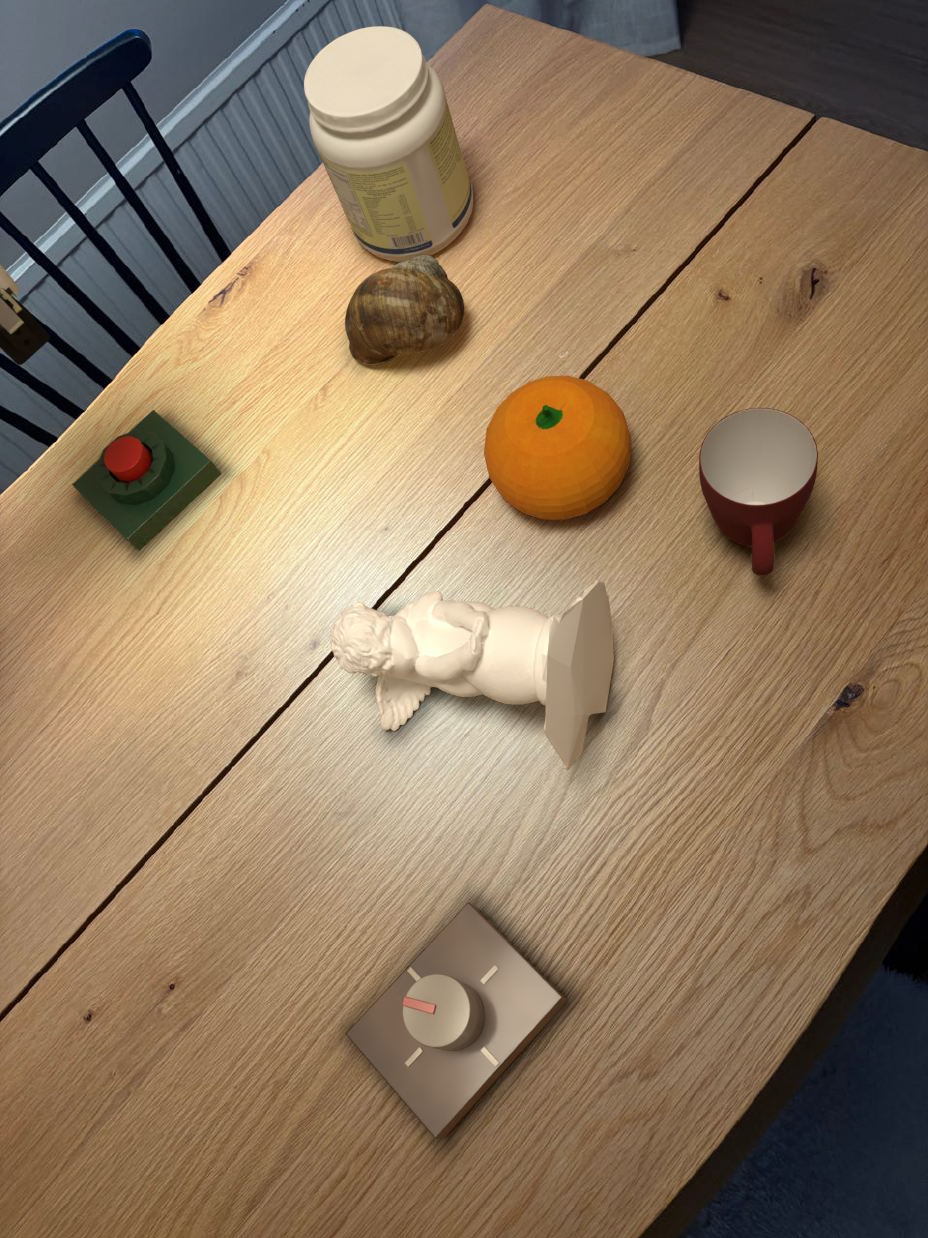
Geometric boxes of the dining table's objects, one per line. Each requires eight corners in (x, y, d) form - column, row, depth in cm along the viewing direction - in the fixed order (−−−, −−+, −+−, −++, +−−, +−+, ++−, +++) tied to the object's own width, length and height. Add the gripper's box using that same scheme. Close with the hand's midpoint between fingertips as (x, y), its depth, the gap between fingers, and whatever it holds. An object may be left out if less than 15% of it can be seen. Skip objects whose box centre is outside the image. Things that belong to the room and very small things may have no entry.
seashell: (482, 298, 100) (463, 236, 93) (456, 384, 97) (434, 326, 90) (369, 290, 103) (342, 230, 96) (340, 372, 100) (310, 316, 93)
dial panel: (444, 1138, 72) (434, 1139, 70) (356, 1036, 76) (344, 1033, 74) (568, 1000, 74) (562, 997, 72) (475, 907, 78) (467, 901, 76)
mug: (828, 588, 82) (840, 524, 73) (719, 608, 83) (718, 548, 74) (795, 469, 86) (803, 395, 77) (692, 490, 88) (688, 420, 79)
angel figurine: (382, 696, 91) (369, 554, 88) (616, 720, 84) (613, 565, 80) (298, 766, 80) (279, 605, 76) (563, 801, 72) (556, 624, 68)
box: (139, 551, 97) (116, 529, 94) (84, 496, 101) (60, 473, 97) (221, 473, 99) (202, 449, 95) (164, 422, 102) (143, 397, 99)
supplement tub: (425, 150, 109) (376, -4, 94) (502, 210, 104) (463, 57, 89) (330, 224, 108) (265, 80, 93) (403, 289, 103) (347, 147, 88)
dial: (491, 990, 73) (477, 982, 69) (475, 1059, 72) (458, 1056, 67) (430, 973, 74) (411, 965, 70) (412, 1041, 73) (392, 1036, 69)
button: (129, 489, 96) (119, 479, 94) (106, 467, 97) (96, 457, 96) (159, 461, 96) (150, 450, 95) (136, 439, 98) (126, 429, 96)
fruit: (658, 499, 88) (650, 430, 79) (523, 557, 88) (500, 495, 80) (601, 391, 93) (587, 315, 84) (474, 447, 94) (447, 378, 85)
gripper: (-247, 150, 68) (-56, 333, 85) (-138, 257, 62) (45, 433, 79) (-154, 73, 70) (16, 268, 86) (-38, 170, 63) (122, 361, 80)
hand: (30, 346), depth 82 cm, fingers closed
